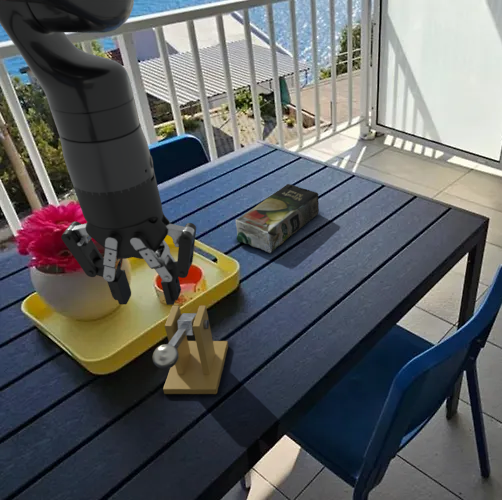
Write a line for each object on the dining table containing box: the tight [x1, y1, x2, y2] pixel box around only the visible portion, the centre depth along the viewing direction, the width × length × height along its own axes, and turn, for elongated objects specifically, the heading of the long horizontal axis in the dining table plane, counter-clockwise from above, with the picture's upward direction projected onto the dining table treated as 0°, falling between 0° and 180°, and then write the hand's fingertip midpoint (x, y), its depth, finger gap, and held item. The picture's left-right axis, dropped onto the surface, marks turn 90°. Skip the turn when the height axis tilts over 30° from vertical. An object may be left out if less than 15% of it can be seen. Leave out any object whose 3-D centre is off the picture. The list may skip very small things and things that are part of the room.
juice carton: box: [235, 183, 320, 254], centre depth 112 cm, size 20×10×6 cm, turn 150°
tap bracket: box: [162, 304, 229, 395], centre depth 77 cm, size 10×8×12 cm
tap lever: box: [152, 312, 197, 370], centre depth 70 cm, size 13×3×3 cm, turn 1°
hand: (149, 299), depth 59 cm, fingers open, 5 cm apart
